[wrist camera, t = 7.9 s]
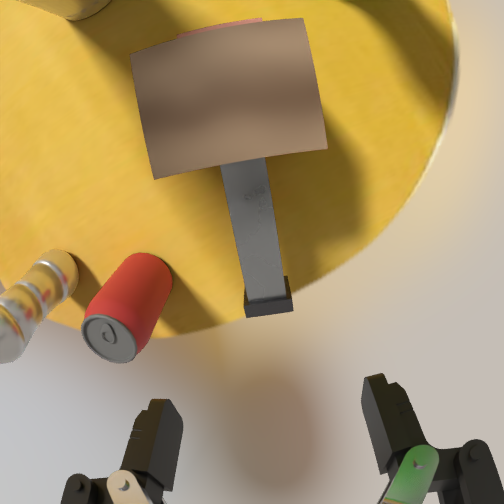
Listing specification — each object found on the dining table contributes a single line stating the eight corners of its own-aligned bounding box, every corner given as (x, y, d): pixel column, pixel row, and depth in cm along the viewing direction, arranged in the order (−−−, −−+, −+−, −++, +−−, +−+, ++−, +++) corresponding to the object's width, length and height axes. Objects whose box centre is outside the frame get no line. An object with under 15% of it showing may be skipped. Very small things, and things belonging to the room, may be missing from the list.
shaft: (205, 85, 19) (195, 77, 16) (254, 75, 19) (254, 65, 16) (247, 292, 27) (246, 318, 23) (288, 286, 26) (293, 311, 23)
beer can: (176, 257, 32) (142, 322, 21) (171, 304, 35) (143, 375, 24) (123, 244, 31) (71, 301, 21) (122, 292, 34) (81, 355, 23)
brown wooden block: (180, 81, 24) (129, 54, 13) (282, 62, 24) (302, 17, 12) (195, 157, 28) (154, 179, 16) (296, 139, 27) (327, 148, 15)
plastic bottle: (90, 260, 32) (-8, 369, 14) (78, 296, 35) (0, 402, 16) (52, 234, 31) (-54, 322, 13) (44, 272, 33) (-43, 362, 15)
